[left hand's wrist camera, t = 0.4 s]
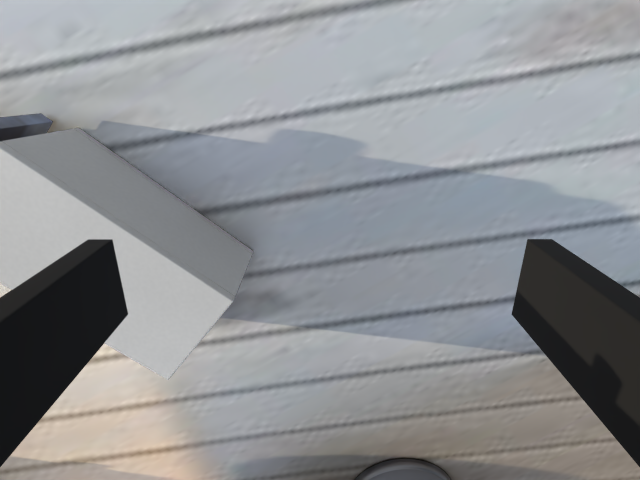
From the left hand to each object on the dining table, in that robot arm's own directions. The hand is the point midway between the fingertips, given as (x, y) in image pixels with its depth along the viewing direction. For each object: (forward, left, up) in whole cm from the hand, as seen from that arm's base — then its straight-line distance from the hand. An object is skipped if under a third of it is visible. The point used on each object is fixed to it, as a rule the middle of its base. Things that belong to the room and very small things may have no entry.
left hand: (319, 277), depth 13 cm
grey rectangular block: (-9, +18, -27) cm, 34 cm away
